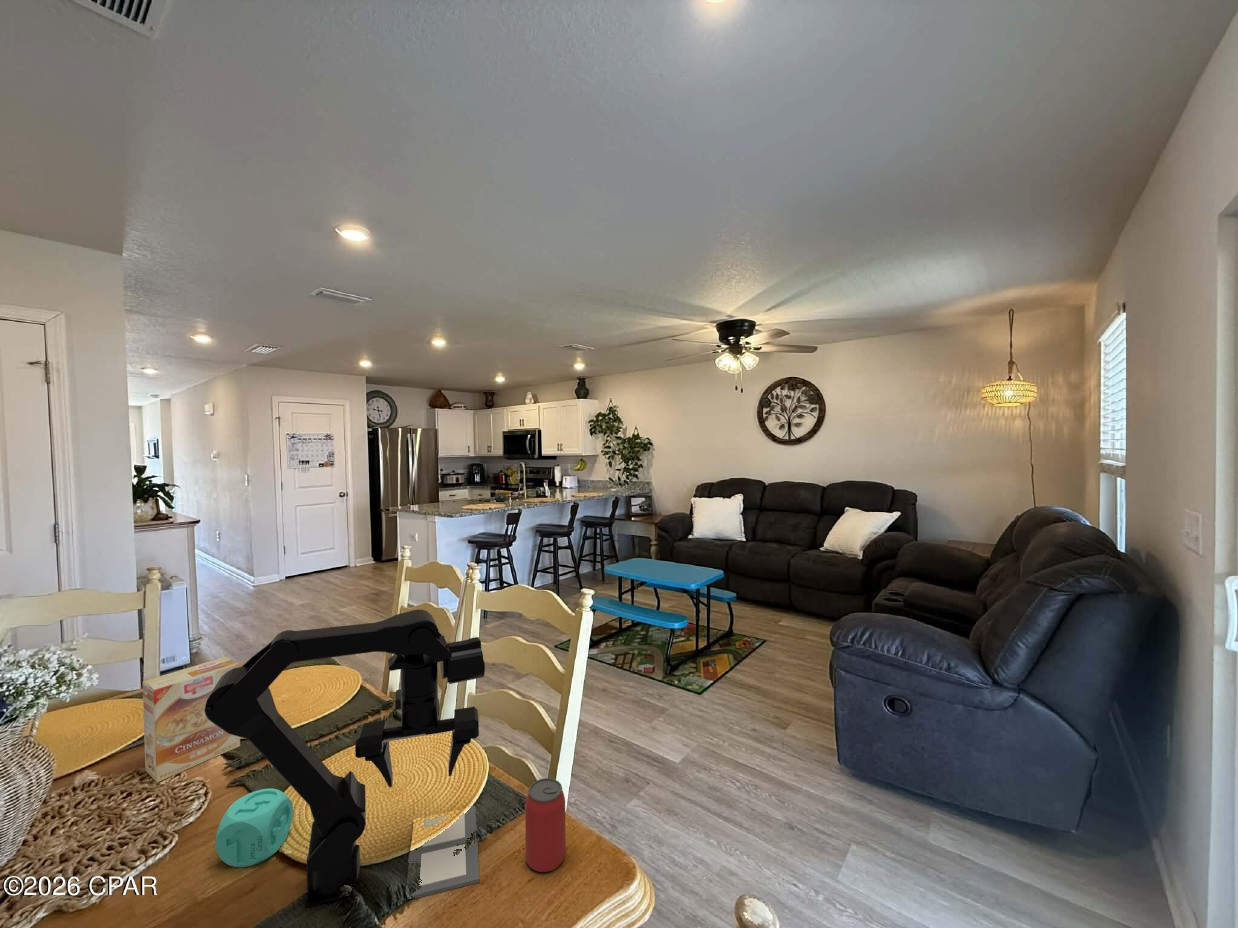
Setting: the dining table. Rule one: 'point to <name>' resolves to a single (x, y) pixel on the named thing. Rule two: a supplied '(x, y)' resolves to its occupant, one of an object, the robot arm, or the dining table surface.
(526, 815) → the beer can
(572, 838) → the dining table surface
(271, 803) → the decorative dice
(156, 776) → the coffeecake box
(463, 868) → the label board
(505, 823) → the dining table surface
